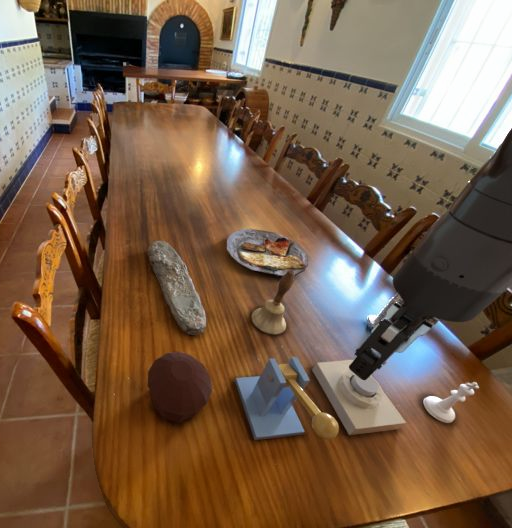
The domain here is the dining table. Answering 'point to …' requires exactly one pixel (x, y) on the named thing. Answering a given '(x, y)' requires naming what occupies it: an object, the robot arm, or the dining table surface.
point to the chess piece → (448, 402)
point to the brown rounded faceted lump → (178, 386)
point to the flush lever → (310, 406)
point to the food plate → (266, 252)
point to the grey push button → (364, 386)
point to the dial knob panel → (356, 400)
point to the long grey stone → (177, 288)
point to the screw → (375, 319)
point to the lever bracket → (271, 401)
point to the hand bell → (274, 309)
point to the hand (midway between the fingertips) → (374, 358)
